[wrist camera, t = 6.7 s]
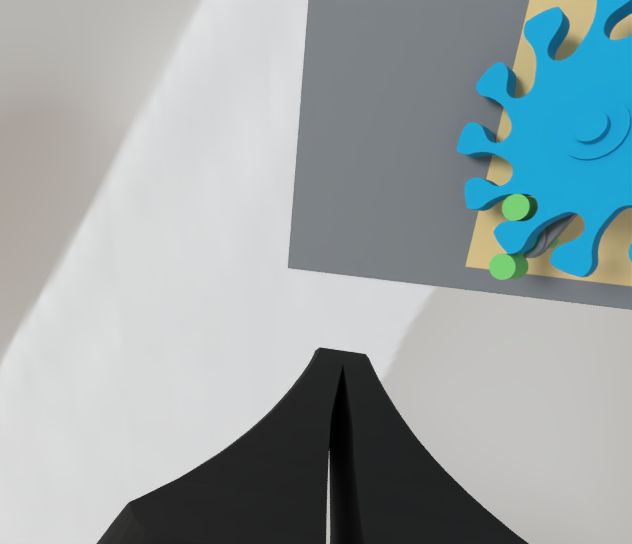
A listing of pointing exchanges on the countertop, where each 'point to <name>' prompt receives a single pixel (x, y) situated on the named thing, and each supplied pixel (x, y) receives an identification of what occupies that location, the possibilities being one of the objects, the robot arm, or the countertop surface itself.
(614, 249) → the mat
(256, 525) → the robot arm
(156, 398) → the countertop surface
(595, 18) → the gear
